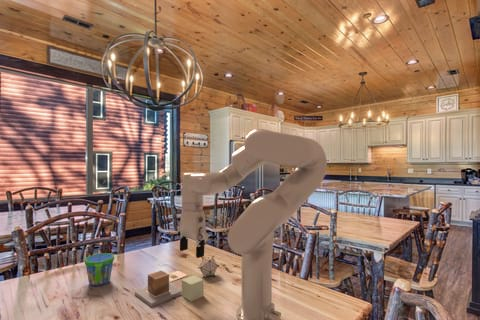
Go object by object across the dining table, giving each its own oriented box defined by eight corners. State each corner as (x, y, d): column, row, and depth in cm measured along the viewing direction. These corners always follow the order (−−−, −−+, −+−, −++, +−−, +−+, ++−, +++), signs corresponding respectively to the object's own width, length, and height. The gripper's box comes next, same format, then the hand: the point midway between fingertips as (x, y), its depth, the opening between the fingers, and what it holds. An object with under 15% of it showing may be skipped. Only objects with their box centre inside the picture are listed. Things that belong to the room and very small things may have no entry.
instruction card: (187, 275, 116) (187, 274, 116) (166, 283, 109) (166, 282, 109) (178, 271, 121) (178, 270, 121) (157, 278, 113) (157, 277, 113)
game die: (211, 286, 114) (214, 273, 109) (193, 277, 116) (195, 263, 110) (220, 269, 122) (223, 255, 116) (203, 260, 123) (205, 247, 117)
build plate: (181, 294, 100) (181, 290, 100) (151, 307, 91) (151, 303, 91) (164, 284, 108) (164, 280, 108) (134, 294, 100) (134, 291, 100)
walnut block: (169, 290, 100) (169, 274, 100) (155, 296, 96) (155, 279, 96) (161, 286, 104) (161, 270, 104) (147, 291, 100) (147, 274, 100)
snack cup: (111, 289, 104) (111, 262, 104) (79, 293, 101) (79, 266, 101) (116, 273, 119) (116, 249, 119) (89, 276, 115) (89, 252, 115)
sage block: (203, 296, 99) (203, 279, 99) (191, 301, 95) (191, 284, 95) (194, 291, 103) (194, 275, 103) (181, 296, 99) (181, 279, 99)
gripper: (216, 208, 96) (215, 257, 96) (186, 202, 107) (186, 245, 108) (199, 211, 90) (198, 262, 90) (170, 204, 102) (169, 250, 102)
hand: (191, 253), depth 99 cm, fingers open, 9 cm apart
